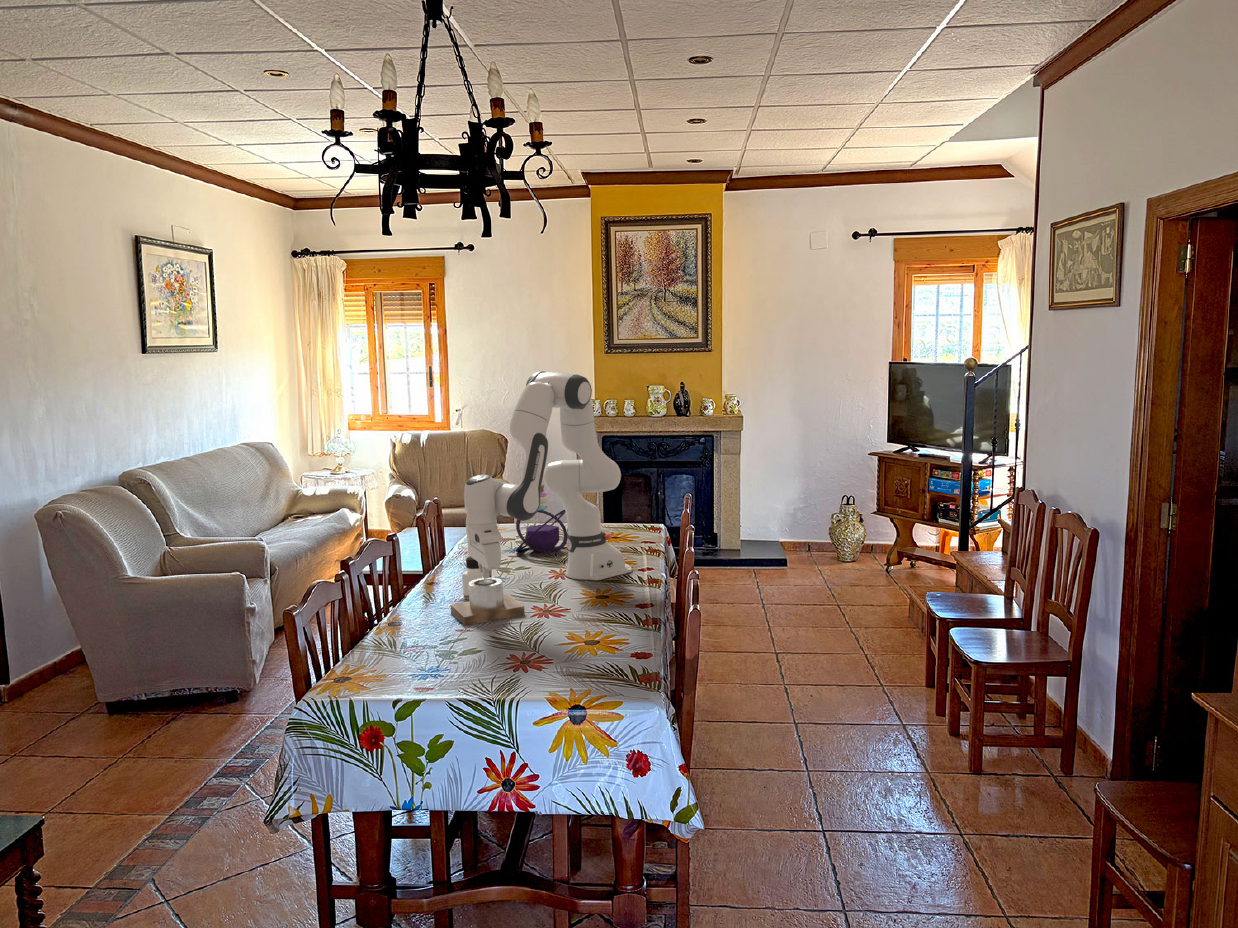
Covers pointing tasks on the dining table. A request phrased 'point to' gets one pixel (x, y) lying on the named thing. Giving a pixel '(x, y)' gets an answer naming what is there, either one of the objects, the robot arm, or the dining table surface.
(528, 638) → the dining table surface
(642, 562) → the dining table surface
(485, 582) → the gray white-topped cylinder
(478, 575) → the medicine bottle
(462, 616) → the mounting block
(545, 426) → the robot arm
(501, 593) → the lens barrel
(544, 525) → the decorative bottle
